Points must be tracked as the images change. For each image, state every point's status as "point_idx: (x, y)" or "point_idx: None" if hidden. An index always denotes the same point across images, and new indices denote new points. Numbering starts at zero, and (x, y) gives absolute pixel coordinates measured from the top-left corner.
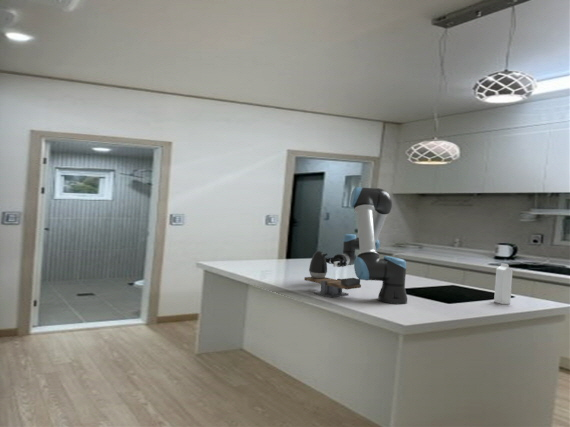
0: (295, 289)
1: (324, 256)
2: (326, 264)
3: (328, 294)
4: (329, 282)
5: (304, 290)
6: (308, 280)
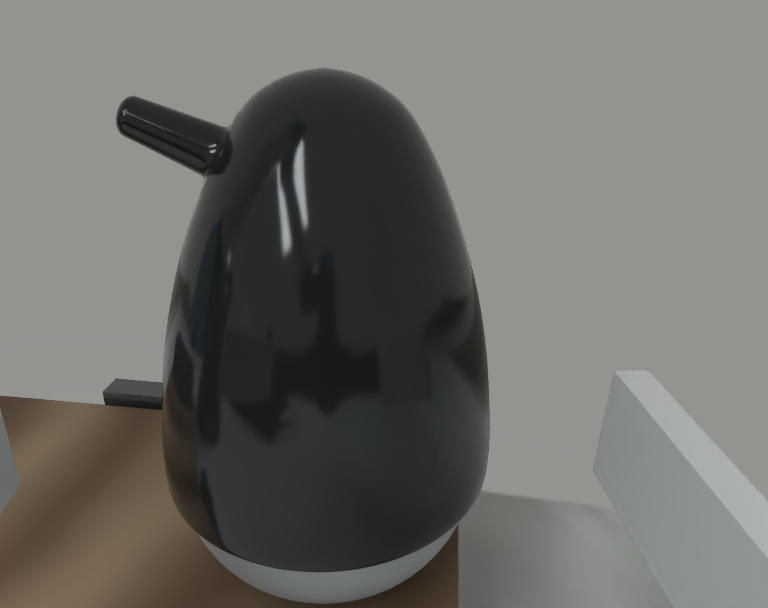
0: (551, 557)
1: (203, 183)
2: (165, 342)
3: None
4: (70, 411)
5: (459, 589)
6: None
